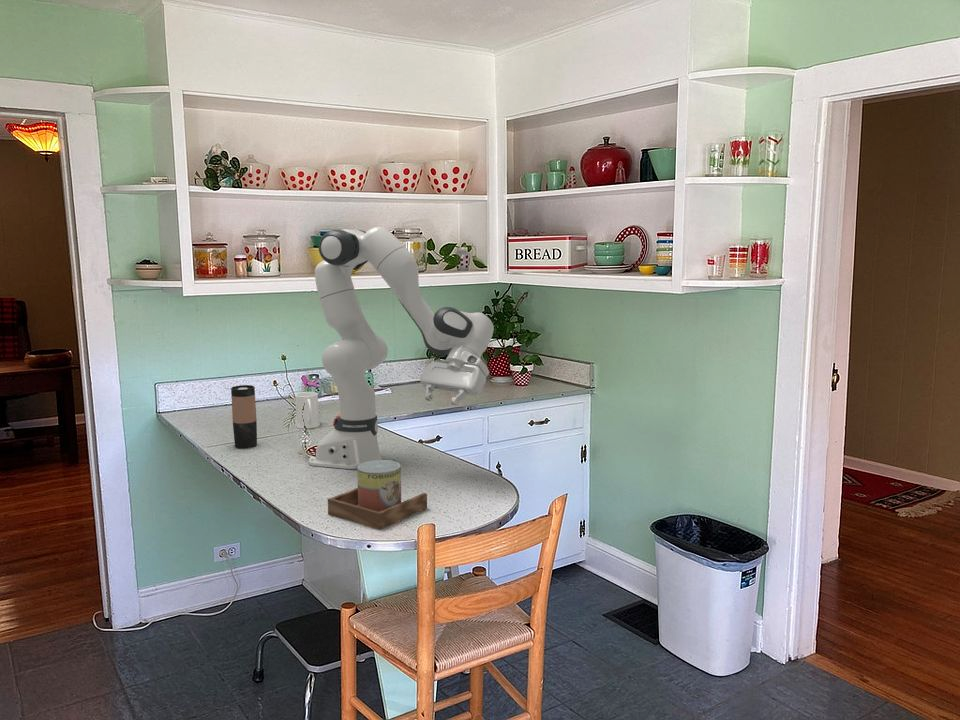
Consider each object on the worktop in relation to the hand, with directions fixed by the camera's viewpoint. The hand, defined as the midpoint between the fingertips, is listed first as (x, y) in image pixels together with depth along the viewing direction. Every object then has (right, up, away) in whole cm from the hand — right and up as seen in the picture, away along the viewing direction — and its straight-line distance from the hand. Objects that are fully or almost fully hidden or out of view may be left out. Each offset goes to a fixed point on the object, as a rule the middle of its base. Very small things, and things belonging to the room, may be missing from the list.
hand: (440, 401), depth 225 cm
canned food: (-15, -27, -17) cm, 35 cm away
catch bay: (-15, -27, -17) cm, 36 cm away
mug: (-52, -13, +68) cm, 86 cm away
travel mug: (-67, -17, +43) cm, 82 cm away
